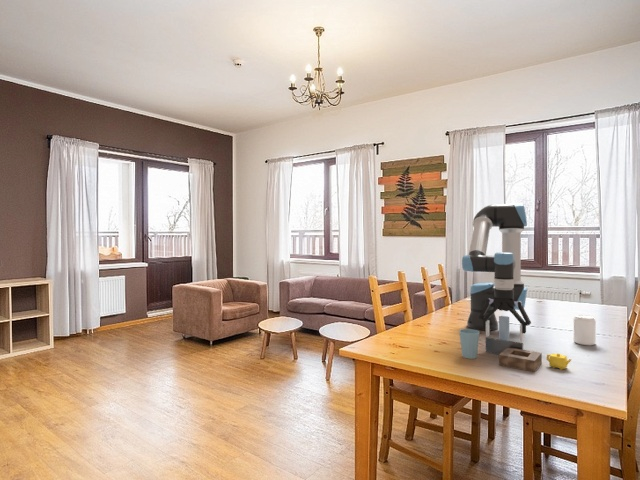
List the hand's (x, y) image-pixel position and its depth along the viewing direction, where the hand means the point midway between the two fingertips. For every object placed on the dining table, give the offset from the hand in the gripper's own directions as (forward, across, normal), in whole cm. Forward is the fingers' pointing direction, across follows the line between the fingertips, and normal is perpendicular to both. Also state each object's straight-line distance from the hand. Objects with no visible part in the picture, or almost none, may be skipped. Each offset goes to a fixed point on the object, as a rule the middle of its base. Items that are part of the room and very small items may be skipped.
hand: (504, 338), depth 168 cm
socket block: (+5, +10, -16) cm, 19 cm away
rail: (+5, +2, -8) cm, 10 cm away
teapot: (+5, +22, -11) cm, 25 cm away
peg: (+5, 0, 0) cm, 5 cm away
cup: (+5, -8, -19) cm, 21 cm away
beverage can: (+5, +25, +31) cm, 40 cm away
